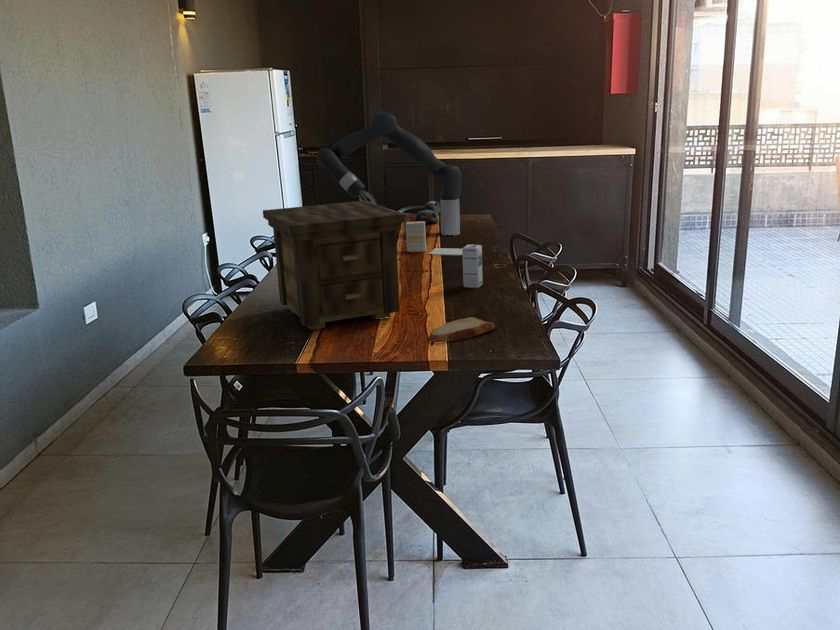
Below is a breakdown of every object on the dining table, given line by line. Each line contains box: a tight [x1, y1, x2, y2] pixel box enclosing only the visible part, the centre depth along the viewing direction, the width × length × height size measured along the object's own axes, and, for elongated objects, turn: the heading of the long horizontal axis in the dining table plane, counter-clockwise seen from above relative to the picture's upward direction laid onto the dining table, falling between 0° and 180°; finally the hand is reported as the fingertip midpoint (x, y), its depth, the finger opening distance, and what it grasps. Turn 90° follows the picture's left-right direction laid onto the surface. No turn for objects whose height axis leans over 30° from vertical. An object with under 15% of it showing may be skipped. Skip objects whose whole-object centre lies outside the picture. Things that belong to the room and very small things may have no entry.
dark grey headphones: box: [413, 200, 441, 224], centre depth 391 cm, size 15×12×14 cm
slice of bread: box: [429, 316, 496, 343], centre depth 210 cm, size 18×18×4 cm
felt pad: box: [428, 247, 462, 256], centre depth 318 cm, size 12×18×1 cm, turn 75°
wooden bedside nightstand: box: [262, 200, 407, 331], centre depth 230 cm, size 35×35×33 cm
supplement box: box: [405, 221, 427, 253], centre depth 320 cm, size 8×5×13 cm, turn 84°
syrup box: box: [461, 244, 484, 289], centre depth 260 cm, size 6×6×14 cm
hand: (380, 212), depth 321 cm, fingers closed
